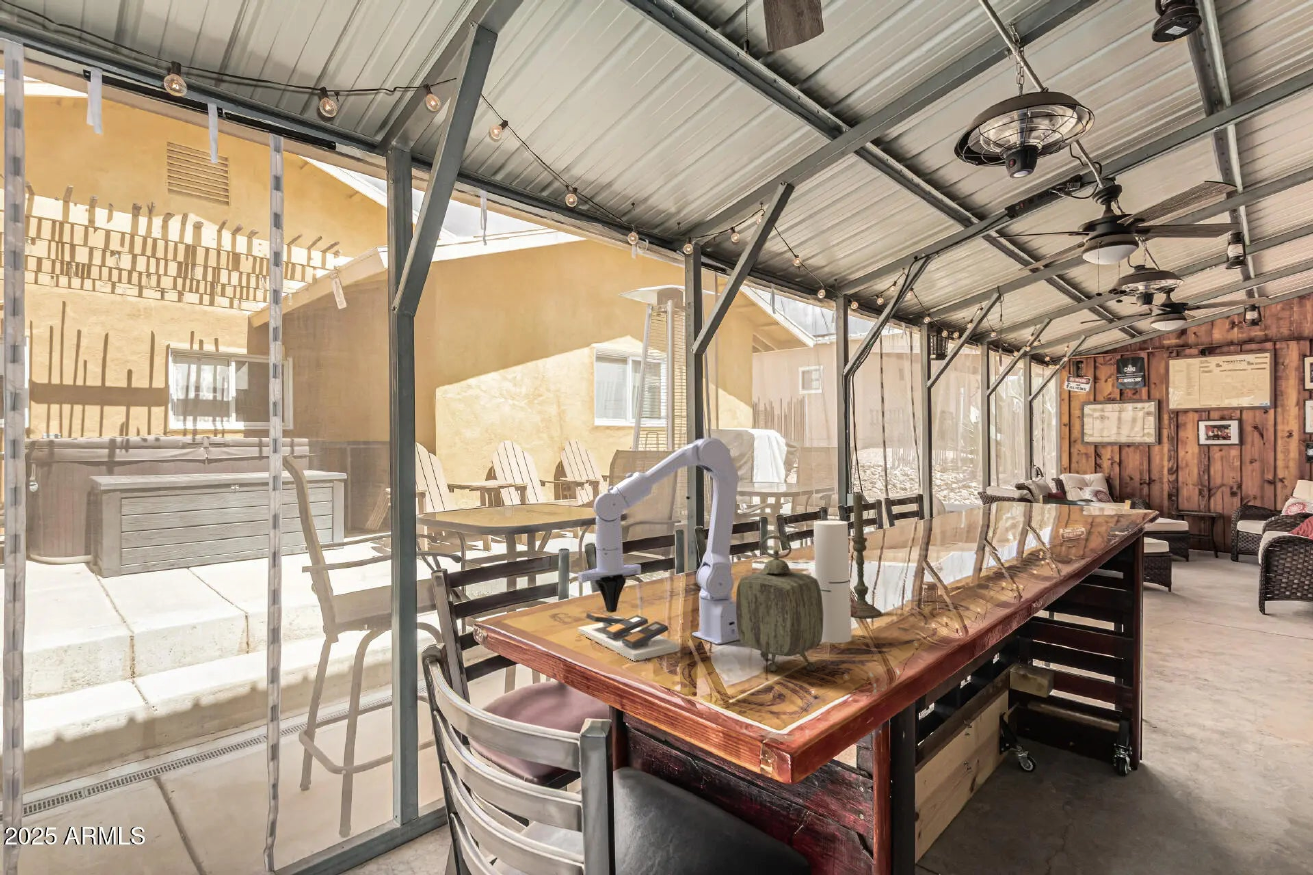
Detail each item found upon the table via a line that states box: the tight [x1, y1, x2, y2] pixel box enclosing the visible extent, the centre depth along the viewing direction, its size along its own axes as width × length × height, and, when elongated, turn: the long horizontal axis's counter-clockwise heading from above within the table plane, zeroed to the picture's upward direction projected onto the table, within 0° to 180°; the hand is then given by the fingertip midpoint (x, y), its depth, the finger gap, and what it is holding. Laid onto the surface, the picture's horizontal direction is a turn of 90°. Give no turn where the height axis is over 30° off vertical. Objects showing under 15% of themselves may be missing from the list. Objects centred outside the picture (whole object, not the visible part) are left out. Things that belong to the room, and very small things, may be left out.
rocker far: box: [585, 613, 628, 624], centre depth 150 cm, size 4×9×1 cm, turn 123°
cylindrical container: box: [813, 520, 852, 644], centre depth 142 cm, size 7×7×25 cm
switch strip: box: [577, 622, 680, 662], centre depth 143 cm, size 25×11×2 cm, turn 33°
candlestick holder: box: [850, 491, 882, 619], centre depth 162 cm, size 9×9×30 cm
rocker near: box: [621, 621, 669, 648], centre depth 137 cm, size 4×9×1 cm, turn 123°
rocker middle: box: [603, 614, 649, 639], centre depth 143 cm, size 4×9×1 cm, turn 123°
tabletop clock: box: [735, 534, 824, 673], centre depth 123 cm, size 14×9×25 cm, turn 43°
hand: (611, 611), depth 142 cm, fingers closed
